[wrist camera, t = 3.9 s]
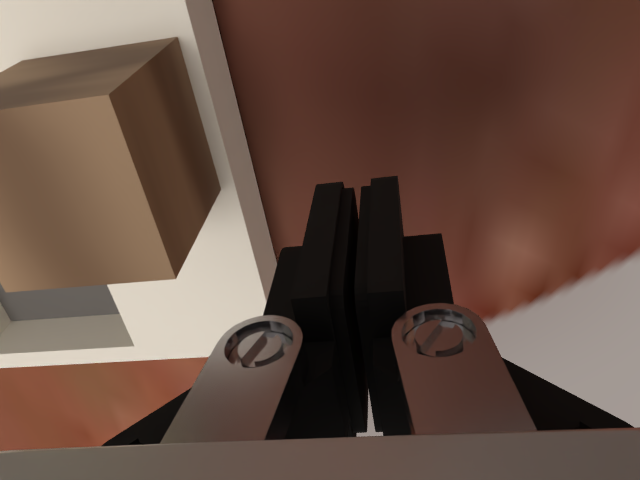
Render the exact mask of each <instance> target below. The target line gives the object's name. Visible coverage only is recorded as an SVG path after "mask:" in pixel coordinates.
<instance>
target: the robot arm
mask: <svg viewBox="0 0 640 480" xmlns="http://www.w3.org/2000/svg"><path fill="white" fill-rule="evenodd" d="M368 388H369V394H370V401H371V406H372V413H373V419H374V426H375V431H376V432H383V436H368V437H356V433H359V432H360V433H362V432H367V418H368ZM0 480H640V428H634V427H633V426H631V425H630V424H628V423H626V422H625V421H623V420H621V419H619V418H617V417H615V416H613V415H611V414H609V413H608V412H606V411H604V410H602V409H600V408H598V407H596V406H594V405H592V404H590V403H588V402H586V401H584V400H582V399H581V398H579V397H577V396H575V395H573V394H571V393H569V392H567V391H565V390H563V389H561V388H559V387H557V386H556V385H554V384H552V383H550V382H548V381H546V380H544V379H542V378H540V377H538V376H536V375H534V374H532V373H531V372H529V371H527V370H525V369H523V368H521V367H519V366H517V365H515V364H513V363H511V362H510V361H507V360H506V359H504V358H502V357H501V355H500V353H499V351H498V349H497V347H496V345H495V343H494V341H493V339H492V337H491V335H490V333H489V331H488V329H487V327H486V325H485V323H484V322H483V321H482V319H481V318H480V317H479V315H477V314H475V313H474V312H472V311H471V310H469V309H467V308H464V307H461V306H458V305H455V304H454V302H453V297H452V291H451V285H450V279H449V274H448V268H447V262H446V256H445V251H444V245H443V239H442V234H441V233H440V234H429V235H418V236H407V237H404V234H403V224H402V214H401V204H400V194H399V185H398V176H392V177H382V178H373V179H371V186H363V187H361V197H360V212H359V219H358V212H357V205H356V198H355V192H354V188H344V184H343V182H336V183H326V184H317V185H316V187H315V192H314V196H313V201H312V205H311V210H310V214H309V219H308V223H307V228H306V232H305V237H304V241H303V245H302V246H296V247H285V248H282V250H281V253H280V256H279V260H278V263H277V267H276V270H275V274H274V278H273V281H272V285H271V288H270V292H269V295H268V299H267V303H266V306H265V310H264V313H263V316H258V317H254V318H250V319H247V320H245V321H243V322H240V323H238V324H236V325H234V326H233V327H232V328H231V329H229V330H228V331H227V332H225V333H224V335H223V336H222V337H221V338H220V340H219V341H218V342H217V344H216V346H215V348H214V349H213V351H212V353H211V355H210V356H209V358H208V360H207V362H206V363H205V365H204V367H203V369H202V370H201V372H200V374H199V376H198V377H197V379H196V381H195V383H194V384H193V386H192V388H190V389H189V390H187V391H186V392H184V393H182V394H181V395H179V396H178V397H176V398H175V399H173V400H171V401H170V402H168V403H167V404H165V405H164V406H162V407H160V408H159V409H157V410H156V411H154V412H153V413H151V414H149V415H148V416H146V417H145V418H143V419H142V420H140V421H138V422H137V423H135V424H134V425H132V426H131V427H129V428H127V429H126V430H124V431H123V432H121V433H120V434H118V435H116V436H115V437H113V438H112V439H110V440H109V441H107V442H106V443H104V444H103V445H102V446H99V447H75V448H51V449H27V450H8V451H0Z"/></svg>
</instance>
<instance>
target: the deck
mask: <svg viewBox="0 0 640 480" xmlns="http://www.w3.org/2000/svg"><path fill="white" fill-rule="evenodd" d="M172 37H178V40H179V43H180V47H181V50H182V54H183V57H184V61H185V64H186V68H187V71H188V75H189V78H190V82H191V85H192V89H193V92H194V96H195V99H196V103H197V106H198V110H199V113H200V117H201V120H202V124H203V127H204V131H205V134H206V138H207V141H208V145H209V148H210V152H211V155H212V159H213V162H214V166H215V169H216V173H217V176H218V180H219V183H220V187H221V191H220V193H219V195H218V197H217V199H216V201H215V203H214V205H213V207H212V209H211V211H210V213H209V215H208V217H207V219H206V221H205V222H204V224H203V226H202V228H201V230H200V232H199V234H198V236H197V238H196V240H195V242H194V244H193V246H192V248H191V250H190V252H189V254H188V256H187V258H186V260H185V262H184V264H183V266H182V268H181V270H180V272H179V274H178V276H177V278H176V279H172V280H159V281H146V282H133V283H121V284H108V285H95V286H82V287H70V288H57V289H44V290H31V291H18V292H5V290H4V288H3V287H2V285H1V283H0V368H10V367H28V366H47V365H65V364H84V363H103V362H121V361H140V360H158V359H177V358H195V357H209V356H210V355H211V353H212V351H213V349H214V348H215V346H216V344H217V342H218V341H219V340H220V338H221V337H222V336H223V335H224V333H225V332H227V331H228V330H229V329H231V328H232V327H233V326H234V325H236V324H238V323H240V322H243V321H245V320H247V319H250V318H254V317H258V316H263V313H264V310H265V306H266V303H267V299H268V295H269V292H270V288H271V285H272V281H273V278H274V274H275V270H276V267H277V262H276V258H275V254H274V250H273V246H272V242H271V238H270V234H269V230H268V226H267V222H266V218H265V214H264V210H263V206H262V202H261V198H260V193H259V189H258V185H257V181H256V177H255V173H254V169H253V165H252V161H251V157H250V153H249V149H248V145H247V141H246V137H245V133H244V129H243V125H242V121H241V117H240V113H239V109H238V104H237V100H236V96H235V92H234V88H233V84H232V80H231V76H230V72H229V68H228V64H227V60H226V56H225V52H224V48H223V44H222V40H221V36H220V32H219V28H218V24H217V19H216V15H215V11H214V7H213V3H212V0H0V72H2V71H4V70H6V69H7V68H9V67H11V66H13V65H15V64H17V63H18V62H20V61H22V60H28V59H35V58H41V57H48V56H54V55H61V54H67V53H74V52H81V51H87V50H94V49H100V48H107V47H113V46H120V45H126V44H133V43H140V42H146V41H153V40H159V39H166V38H172Z"/></svg>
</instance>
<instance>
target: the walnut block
mask: <svg viewBox="0 0 640 480" xmlns="http://www.w3.org/2000/svg"><path fill="white" fill-rule="evenodd" d="M220 191H221V187H220V183H219V180H218V176H217V173H216V169H215V166H214V162H213V159H212V155H211V152H210V148H209V145H208V141H207V138H206V134H205V131H204V127H203V124H202V120H201V117H200V113H199V110H198V106H197V103H196V99H195V96H194V92H193V89H192V85H191V82H190V78H189V75H188V71H187V68H186V64H185V61H184V57H183V54H182V50H181V47H180V43H179V40H178V37H172V38H166V39H159V40H153V41H146V42H140V43H133V44H126V45H120V46H113V47H107V48H100V49H94V50H87V51H81V52H74V53H67V54H61V55H54V56H48V57H41V58H35V59H28V60H22V61H20V62H18V63H17V64H15V65H13V66H11V67H9V68H7V69H6V70H4V71H2V72H0V283H1V285H2V287H3V288H4V290H5V292H18V291H31V290H44V289H57V288H70V287H82V286H95V285H108V284H121V283H133V282H146V281H159V280H172V279H176V278H177V276H178V274H179V272H180V270H181V268H182V266H183V264H184V262H185V260H186V258H187V256H188V254H189V252H190V250H191V248H192V246H193V244H194V242H195V240H196V238H197V236H198V234H199V232H200V230H201V228H202V226H203V224H204V222H205V221H206V219H207V217H208V215H209V213H210V211H211V209H212V207H213V205H214V203H215V201H216V199H217V197H218V195H219V193H220Z"/></svg>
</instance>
